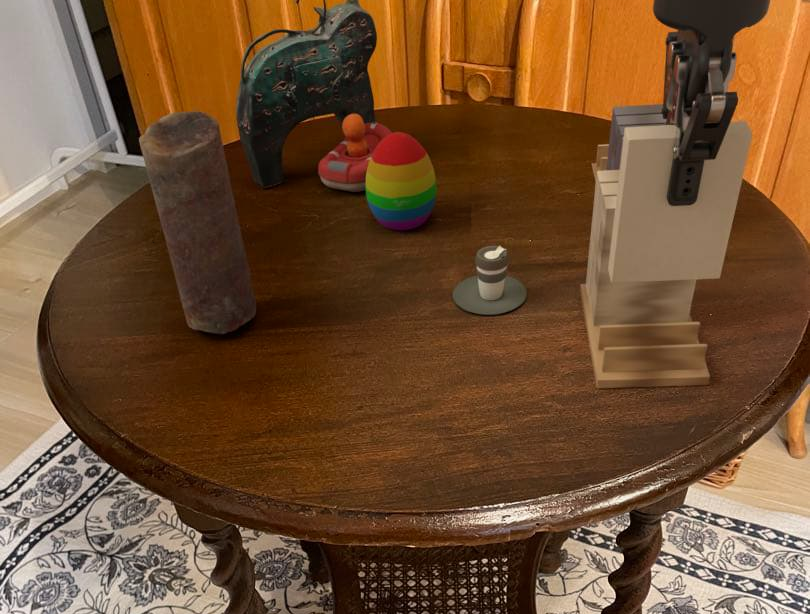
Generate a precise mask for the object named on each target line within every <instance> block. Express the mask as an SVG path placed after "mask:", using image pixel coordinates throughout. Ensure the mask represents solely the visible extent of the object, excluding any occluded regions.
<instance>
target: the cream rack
mask: <svg viewBox="0 0 810 614" xmlns="http://www.w3.org/2000/svg"><path fill="white" fill-rule="evenodd" d="M619 172H620V170H605V171H597V176H596V181H595V186H594V187H595V188H594V198H593V207H592V217H591V228H590V239H589V247H588V256H587V257H588V258H587V269H586V278H585V283H580V284H579V296H580V301H581V307H582V308H581V309H582V314H583V319H584V324H585V330H586V335H587V341H588V347H589V352H590V359H591V364H592V370H593V375H594V380H595V386H596V389H624V388H653V387H654V388H657V387H684V386H686V387H687V386H708V385H709V383H710V380H711V375H710V374H711V373H710V372H709V368H708V365H707V362H706V355H707V351H708V344H707V343H700V341H699V333H700V327H701V322H700V321H693V319H692V316H691V309H692V303H693V298H694V295H695V294H694V293H695V289H696V285H697V280H698V279H695V280H670V281H646V282H622V283H611V280H610V275H609V271H608V265H609V257H610V248H611V240H612V231H613V223H614V215H615V206H616V198H617V189H618V181H619Z"/></svg>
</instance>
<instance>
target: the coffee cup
mask: <svg viewBox="0 0 810 614" xmlns="http://www.w3.org/2000/svg"><path fill="white" fill-rule="evenodd" d="M474 262H475V266H476V275H473V276H470V277H467V278H465V279H464V280H461V281H460V282H458V283H457V284H456V286H455V287H454V289H453V291H452V295H451V296H452V300H453V301H454V303H455V304H456V305H457V306H458V307H459V308H460V309H461V310H464V311H466V312H469V313H472V314H475V315H482V316H496V315H501V314H506V313H509V312H511V311H514V310H516V309H518V308H519V307H520V306H522V305H523V304H524V303H525V301H526V299H527V296H528V292H527V288H526V286H525V285H524V283H522V282H521V281H520V280H519V279H517V278H515V277H513V276H509V275H508V265H509V264H510V263H509V262H510V259H509V254H508V250H507V248H504V247H502V246H501V245H499V246H498V245H487V246H484V247H481V248H479V250H477V252H476V255H475V258H474Z"/></svg>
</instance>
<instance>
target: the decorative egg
mask: <svg viewBox="0 0 810 614" xmlns="http://www.w3.org/2000/svg"><path fill="white" fill-rule="evenodd" d="M436 178H437V177H436V173H435V168H434V165H433V163H432V161H431V158H430V156H429V155H428V153H427V151H426V149H425V148H424V147H423V146H422V145H421V143H420V142H419V141H418V140H417V139H416V138H414V137H413V136H412V135H410V134H409V133H405V132H401V131H395V132H392V133H391V134H389V135H387V136H386V137H385V138H383V139H382V140H381V142H380V143H379V144H378V145H377V147H376V148H375V150H374V152H373V153H372V156H371V158H370V161H369V164H368V168H367V173H366V190H365V196H366V201H367V204H368V206H369V210H370V212H371V213H372V215H373V216H374V218H375V219H376V221H377V222H378V223H379V224H380V225H382V227H385V228H386V229H389V230H393V231H408V230H409V231H410V230H413V229H417V228H419V227H420V226H422V225H423V224H424V223H425V222H426V221H427V220H428V219H429V217H430V215H431V214H432V211H433V209H434V207H435V203H436V198H437V179H436Z"/></svg>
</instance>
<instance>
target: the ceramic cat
mask: <svg viewBox="0 0 810 614" xmlns="http://www.w3.org/2000/svg"><path fill="white" fill-rule="evenodd" d="M322 2H323V7H322V6H313V10H314V11H315V13H317V15H319V16H318V22H317V26H316V27H314V28H311V29H307V30H291V29H286V28H280V29H279V28H278V29H277V28H275V29H272V30H270V31H268V32H266V33H264V34H262V35H260V36H259V37H257V38H255V40H253V41H252V42H251V43H249V45H248V46H247V48H246V50H245V51H244V52H243V57H242V60H241V66H240V80H239V85H238V91H237V97H236V101H235V117H236V119H235V120H236V126H237V129H238V136H239V140H240V143H241V147H242V148H243V151H244V154H245V156H246V159H247V162H248V164H249V168H250V171H251V175H252V178H253V181H254V182H255V183H256V182H257V183H258V184H260V185H261V186H262V187H261V186H260V185H259V186H260V187H261V188H263V187H267V186H271V185H274V184H277V183H279V182H283V181H284V182H285V175H284V169H283V148H284V145H285V143H286V140H287V138H288V136H289V135H290V133H291V132H293V130H294V129H295V128H296V127H297V126H298V125H300V124H301V123H303V122H305V121H308V120H309V119H313V118H317V117H322V116H329V115H334V116H335V118H336V119H337V122H338V123H339V126H340V127H341V129H342V124H343V121H344V119H345V118H346V117H347V116H348V115H350V114H358V115H360V116H361V118H362V119H363V122H364V124H366V123H376V117H375V100H374V93H373V88H372V84H371V83H372V82H371V78H370V73H369V70H368V66H369V63H370V60H371V58H372V56H373V54H374V53H375V51H376V48H377V43H378V33H377V29H376V28H377V27H376V23H375V20H374V18H373V16H372V15H371V13H369V12H368V11H367V10H366V9H364V8H363V7H362V6H361V4H360V2H359V0H346V1H345V2H342V3H339V4H335V5H334V6H332V7H329V8H328V9H327V3H326V0H322ZM295 3H296V4H297V5H299V3H300V0H295ZM275 34H276V35H277V34H285V35H283V36H281V37H280V38H278V39H276V40H274V41H273V42H271V43H269V44H266V45H265V46H263V47H261V48H260V49H258V51H256V52H255V54H254V56H253V57H252V58H251V59H250V60H249V61H248V62H247V60H248V57H249V55H250V53H251V52H252V50H253V48H254V47H255V46H256V45H258V44H259V43H260V42H262V41H264V40H266V39H267V38H268V37H270V36H273V35H275ZM246 62H247V64H246ZM343 136H344V139H345V138H346V136H345V135H344V134H343ZM284 182H283V183H284ZM257 183H256V184H257ZM258 184H257V185H258Z"/></svg>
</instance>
